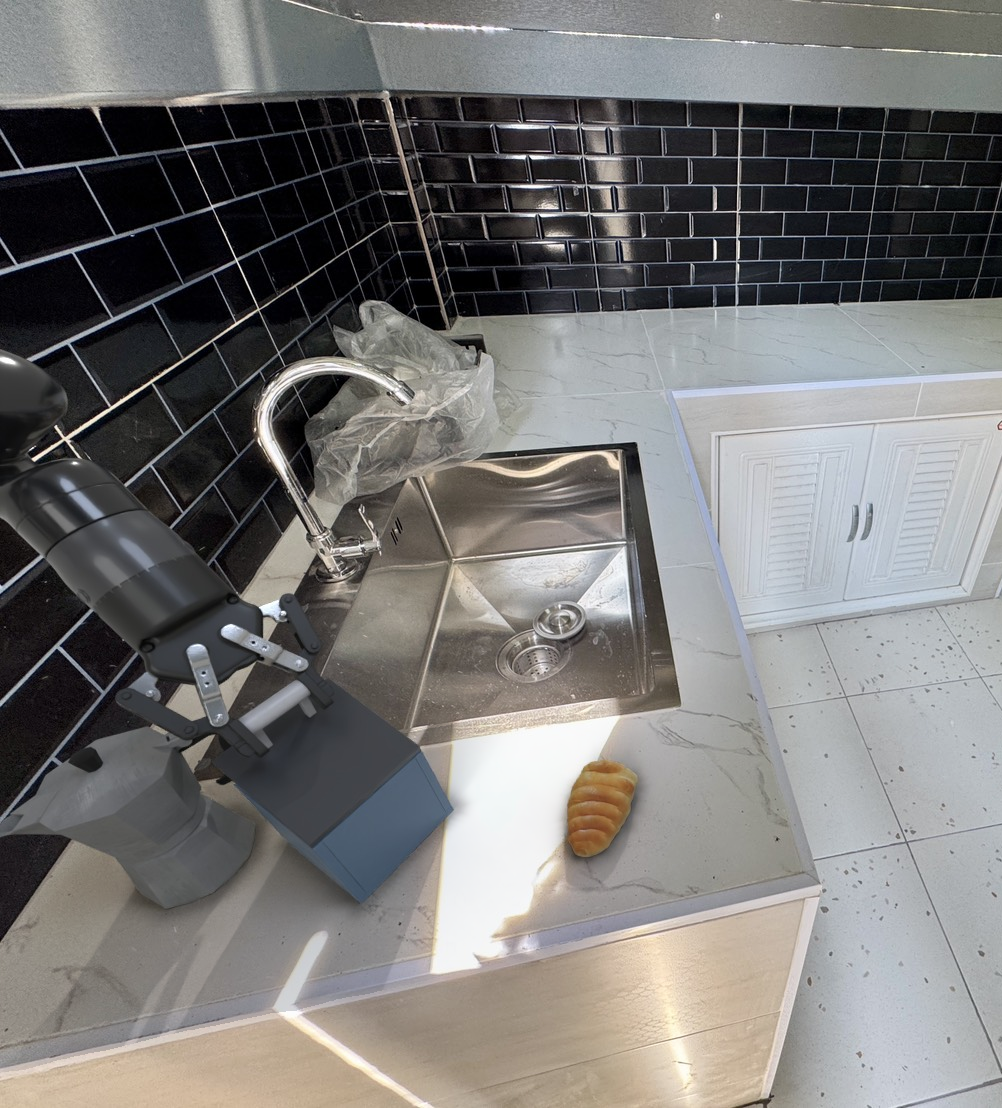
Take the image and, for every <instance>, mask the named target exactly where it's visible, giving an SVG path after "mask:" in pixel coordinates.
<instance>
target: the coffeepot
mask: <svg viewBox="0 0 1002 1108" xmlns="http://www.w3.org/2000/svg"><path fill="white" fill-rule="evenodd" d="M203 717H204V716H203ZM203 717H201V718H203ZM231 718H232V719H234V720H235V719H236V718H233V717H231ZM210 736H218V739H217V740H218V744H219V745H220V748H221V749H222V750H223V751H222V752H224V751H226V750H227V749H229V748H230V747H231V745H230V744H229V743H228V742H227V741H226V740H225V739H224V738H223V737H222V736H221V735H220V734H218V733H207V734H204V735H201V736H198V737H195V738H194V739H192V740H188V741H186V740H182V739H180V738H178V737H176V736H175V735H173V734H171V733H169V732H167V733H165V734H163V733H162V732H160V731H158V730H156V729H154V728H152V727H150V726H143V727H140V728H136V729H132V730H128V731H124V732H120V733H117V734H113V735H109V736H106V737H102V738H98V739H95V740H93V742H91V743H90V744H88V745H87V746H85V747H84V748H81V749H79V750H77V751H76V752H74V753H73V754H72V755H70V758H68V759H66V760H65V761H64V762H62V763H61V764H60V765H57V766H56V767H55V768H54V769H52V770H51V771H49V772H48V773H47V774H45V776H44V778H43V779H42V782H41V784H40V785H39V787H38V789H37V791H36V793H35V795H34V796H33V797H31V798H30V799H28V800H27V801H26V802H24V803H23V804H21V805H20V806H19V807H17V808H16V809H15V810H13V811H12V812H10V813H9V816H8V817H6V818H4V819H3V820H2V821H1V823H0V838H4V837H7V836H12V835H53V836H54V835H57V836H59V835H60V836H62V837H64V838H65V837H66V838H68V839H70V840H72V841H75V842H77V843H80V844H82V845H84V846H87V847H89V848H91V849H94V850H96V851H99V852H102V853H103V854H106V855H108V856H110V857H113V858H114V859H115V860H116V861H117V862H118V864H119V865H120V867H121V868H122V870H123V871H124V873H125V874H126V875H127V876H128V878H129V879H130V881H131V882H132V883H133V885H134V886H135V888H136V889H137V891H138V892H139V893H140V894H141V895H142V896H144V897H145V898H147V899H149V900H151V901H152V902H154V903H156V904H157V905H158V906H160V907H162V908H164V909H165V910H167V909H168V910H169V909H172V908H175V907H180V906H182V905H187V904H190V903H193V902H196V901H198V900H200V899H203V898H205V897H206V896H208V895H211V894H214V893H215V892H216V891H217V890H218V889H219V888H221V887H223V886H224V885H226V883H227V882H228V881H230V879H231V878H233V877H234V875H235V874H237V873H238V871H239V870H240V869H241V868H242V867H243V865H244V864H245V863H246V861H247V860H248V859H249V858H250V856H251V853H252V849H253V846H254V843H255V829H256V823H254V822H253V821H251V820H249V819H247V818H246V817H244V816H242V815H240V814H238V813H236V812H235V811H233V810H232V809H229V807H226V806H225V805H223V804H221V803H220V802H218V801H215V799H212V798H210V797H208V796H207V795H205V794H204V793H202V792H201V789H202V785H201V784H200V782H199V780H198V778H197V777H196V775H195V774H194V772H193V770H192V768H191V766H190V765H189V763H188V762H187V760H186V757H185V756H184V754H183V752H184V751H186V750H188V749H191V748H192V747H194V746H195V745H196V744H198V743H200V742H202V741H203V740H205V739H206V738H208V737H210ZM232 782H233V781H232V780H231V779H230V778H229V777H227V776H226V775H225V774H224V775H222V776H221V777H219V778H217V779H216V780H215V783H216V784H218V786H219V785H220V786H225V785H228V784H230V783H232Z"/></svg>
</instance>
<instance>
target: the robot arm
mask: <svg viewBox="0 0 1002 1108" xmlns="http://www.w3.org/2000/svg"><path fill="white" fill-rule="evenodd" d="M68 407H69V399H68V395H67V393H66V390H65V389H64V386H63V385H62V384H61V383H60V382H59V380H58V379H56V378H55V377H54V376H53V375H52V373H50V372H48V371H47V370H45V368H43V367H41V366H39V365H38V364H37V363H34V362H33V361H31V360H28V359H26V358H24V357H23V356H21V355H18V354H15V353H13V352H11V351H8V350H5V349H1V348H0V519H2V520H4V521H5V522H6V523H8V525H10V527H12V529H13V530H14V531H15V532H16V533H17V534H18V535H19V536H20V537H21V538H22V539H24V541H26V543H27V544H29V545H30V546H31V547H32V548H33V549H34V550H35V551H36V552H37V553H38V554H39V555H40V556H41V557H42V558H43V559H44V560H46V562H48V564H49V565H50V566H51V567H52V568H53V569H54V570H55V572H56V574H57V575H58V576H59V577H60V579H61V580H62V581H63V582H64V584H65V585H66V586H67V588H69V589H70V590H71V591H72V592H73V593H74V594H75V595H76V596H77V597H78V599H79V600H80V601H82V602H83V603H84V604H86V606H88V607H89V608H90V609H91V610H92V611H93V612H94V613H95V614H96V615H97V616H98V617H99V619H101V620H102V621H103V622H104V623H105V624H106V625H108V626H109V628H111V629H112V630H113V632H114V633H116V634H117V635H118V636H119V637H120V638H121V639H122V640H123V641H124V642H125V643H126V644H128V646H130V648H131V649H133V651H135V653H137V654H138V655H139V656H140V658H142V660H143V663H144V669H145V672H144V673H142V675H141V676H139V677H138V678H137V679H136V680H135V681H133V682H132V683H131V684H130V685H129V686H128V687H124V688H122V689H119V690H118V691H117V692H116V693H115V696H114V699H115V702H116V703H117V705H118V706H119V707H120V708H122V709H124V710H126V711H128V712H130V713H131V714H133V715H135V716H137V717H138V718H141V719H143V720H145V721H147V722H148V723H150V724H152V725H154V726H156V727H158V728H160V729H161V730H163V731H164V732H167V733H168V732H169V733H171V734H173V735H175V736H176V737H178V738H180V739H182V740H186V741H188V740H192V739H194V738H195V737H198V736H201V735H204V734H207V733H218V734H220V735H221V736H222V737H223V738H224V739H225V740H226V741H227V742H228V743H229V744H230V745H231V746H232V747H233V748H234V749H235V750H237V751H238V752H239V753H240V754H241V755H242V756H245V757H248V758H249V757H251V756H252V755H253V754H255V755H256V756H258V757H259V758H261V757H263V756H264V755H265V754H267V753H268V752H269V751H270V750H269V749H268V748H267V747H266V746H265V745H264V744H263V743H262V742H261V741H260V740H259V739H258V738H257V737H256V736H255V735H254V734H253V733H252V732H251V731H250V730H249V729H248V728H247V727H246V726H245V725H244V724H242V723H241V722H240V721H239V720H238V719H239V718H233V717H232V716H231V715H229V712H228V710H227V707H226V704H225V700H224V698H223V694H222V691H221V688H220V685H222V684H223V683H225V682H227V681H229V679H231V678H232V677H233V675H234V674H235V673H236V672H239V671H241V670H244V669H246V668H249V667H250V666H252V665H253V664H254V663H256V662H258V663H259V664H262V665H265V666H266V667H267V666H268V667H271V668H275V669H276V670H279V671H281V672H283V673H286V674H289V675H291V676H292V677H294V680H293V681H295V680H299V681H300V682H302V683H303V684H304V685H305V686H306V687H307V688H308V690H309V691H310V693H311V694H310V695H309V696H310V697H311V698H312V699H313V700H314V701H315V702H316V703H317V704H318V705H319V706H320V707H321V708H322V709H323V710H325V709H326V708H328V707H329V706H330V705H332V704H333V703H334V701H333V700H332V699H331V698H330V697H331V696H333V695H334V691H333V688H332V687H331V686H330V685H329V684H328V683H327V682H326V681H325V680H326V679H324V678H323V677H322V676H321V675H320V674H319V672H317V671H316V669H314V667H313V661H314V659H315V658H316V657H317V656H318V654H319V653H320V651H321V650H322V649H323V643H322V641H321V639H320V637H319V634H317V632H316V630H315V628H314V627H313V625H312V623H311V621H310V620H309V617H308V615H307V614H306V612H305V611H304V609H303V607H302V605H301V603H300V602H299V600H298V598H297V596H296V595H295V594H293V593H290V592H287V593H284V594H283V593H282V595H280V598H279V599H276V600H274V601H271V602H268V603H265V604H262V605H259V606H258V605H257V604H254V603H250V602H248V601H245V600H244V599H243V598H241V597H240V596H239V595H238V594H237V593H236V592H235V591H234V590H233V589H232V588H231V587H230V586H229V585H228V584H227V583H226V582H225V581H224V580H223V579H222V578H221V577H220V576H219V575H218V574H217V573H216V572H215V571H214V569H212V568H211V566H210V565H208V563H206V561H205V560H204V559H203V558H202V557H200V555H199V554H198V553H196V551H195V548H194V547H193V546H192V545H191V544H190V543H189V542H188V541H186V540H184V539H183V538H182V537H181V536H180V535H179V534H178V533H177V532H176V531H175V530H173V529H172V528H171V527H170V526H168V525H167V523H164V522H163V521H162V520H160V518H158V517H157V516H155V514H154V513H152V512H151V511H150V510H149V509H148V507H147V506H145V504H143V502H142V501H141V500H140V499H139V498H138V497H137V496H136V495H134V493H133V492H132V491H131V490H130V489H129V488H128V487H126V486H125V484H124V483H123V482H122V481H121V480H120V479H119V477H117V476H115V474H114V473H112V472H111V471H110V470H109V469H107V468H106V467H105V466H104V465H102V464H101V463H98V462H96V461H94V460H91V459H88V458H83V457H82V458H80V457H69V458H60V459H56V460H51V461H47V462H44V463H41V464H38V463H36V461H34V460H33V458H32V457H31V456H30V454H28V452H30V450H31V449H32V448H34V446H36V445H37V444H38V443H39V442H40V441H41V439H43V438H44V437H45V436H46V435H47V434H48V433H49V432H50V431H52V430H53V429H54V428H55V427H56V425H58V424H59V423H60V422H61V421H62V419H63V418H64V416H65V415H66V413H67V411H68ZM264 618H268V619H271V620H273V621H274V623H276V624H278V625H286V626H287V628H288V630H289V631H290V633H291V635H292V637H293V638H294V640H295V643H296V644H297V646H298V647H299V649H300V652H299V653H298V654H296V653H293V652H292V651H289V650H286V649H285V648H284V647H282V646H281V645H279V644H276V643H274V642H273V641H270V640H268V639H266V638H264ZM158 681H162V682H168V683H176V684H180V685H189V686H194V687H195V690H196V693H197V696H198V698H199V702H200V705H201V707H202V709H203V712H204V715H205V716H203V718H202V717H200V718H197V719H194V720H192V719H189V718H188V717H186V716H184V715H182V714H180V713H178V712H176V711H174V710H173V709H171V708H169V707H167V706H165V705H164V704H162V703H160V702H159V701H160V700H161V698H162V697H161V696H162V695H161V690H159V688H157V687H156V684H157V682H158ZM232 718H233V719H232ZM234 719H235V720H234Z"/></svg>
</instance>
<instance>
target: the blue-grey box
mask: <svg viewBox="0 0 1002 1108" xmlns="http://www.w3.org/2000/svg"><path fill="white" fill-rule="evenodd" d="M233 786H234V787H235V788H236V790H238V791H239V792H240V793H241V795H243V797H245V799H246V800H247V801H248V802H249V804H251V805H252V806H253V807H254V808H255V809H256V810H257V811H258V813H260V815H261V816H262V817H263V818H264V819H265V821H267V822H268V823H269V824H270V825H271V826H272V828H274V829H275V831H276V832H277V833H278V834H279V835H280V836H281V837H282V838H283V840H285V842H287V843H288V844H289V845H290V846H292V847H293V848H294V849H295V850H297V852H299V853H300V854H301V855H302V856H303V857H304V858H306V859H307V860H308V861H309V862H310V863H312V864H313V865H314V866H316V867H317V868H318V869H319V870H320V871H322V872H323V873H324V874H325V875H326V876H327V877H328V878H330V879H331V880H332V881H334V883H336V884H337V885H338V886H339V887H341V888H342V889H343V890H344V891H345V892H346V893H348V894H349V895H350V896H351V897H353V898H354V899H355V900H356V901H357V902H359V903H360V904H361V905H362V904H364V902H365V901H366V900H367V899H368V898H369V897H370V896H371V895H372V894H373V893H374V892H375V891H377V889H378V888H380V886H381V885H382V884H383V883H384V882H385V881H386V880H387V879H388V878H389V877H390V876H391V875H392V874H393V873H394V872H395V871H396V870H397V869H398V867H400V865H402V864H403V862H404V861H405V860H406V859H407V858H408V857H410V855H412V853H413V852H414V851H415V850H416V849H417V848H418V847H419V846H420V845H421V844H422V843H423V842H424V841H425V840H426V839H427V838H428V837H429V836H430V835H431V834H432V833H433V832H434V831H435V830H436V829H437V828H438V827H439V826H440V825H441V824H442V823H443V822H444V821H445V820H446V818H447V817H448V816H449V815H451V814H452V813H453V811H455V809H454V807H453V806H452V804H451V802H450V800H449V797H448V796H447V795H446V793H445V791H444V789H443V786H442V785H441V783H440V782H439V779H438V777H437V776H436V774H435V772H434V770H433V768H432V766H431V765H430V763H429V761H428V759H427V757H426V755H425V754H424V752H423V750H421V751H420V752H419V753H418V754H417V755H416V756H414V757H413V758H412V759H411V760H410V761H409V762H408V763H407V764H406V765H404V766H403V767H402V768H401V769H400V770H399V771H398V772H397V773H395V774H394V775H393V776H392V777H391V778H390V779H389V780H388V781H387V782H385V783H384V784H383V785H382V786H381V787H380V788H379V789H378V790H377V791H375V792H374V793H373V794H372V795H371V796H370V797H369V798H368V799H367V800H365V801H364V802H363V803H362V804H361V805H360V806H359V807H358V808H356V809H355V810H354V811H353V812H352V813H351V814H350V815H349V816H348V817H346V818H345V819H344V820H343V821H342V822H341V823H340V824H339V825H338V826H336V827H335V828H334V829H333V830H332V831H331V832H330V833H329V834H328V835H326V836H325V837H324V838H323V839H322V840H321V841H320V842H319V843H317V844H316V845H315V846H314V847H313V848H310V847H309V846H308V845H307V844H305V843H304V842H303V841H302V840H301V839H300V838H298V837H297V836H296V835H295V834H294V833H293V832H291V831H290V830H289V829H288V828H287V827H286V826H284V825H283V824H282V823H281V822H280V821H279V820H278V819H276V818H275V817H274V816H273V815H272V814H271V813H269V812H268V811H267V810H266V809H265V808H264V807H262V806H261V805H260V804H259V803H258V802H257V801H255V800H254V799H253V798H252V797H251V796H250V795H248V794H247V793H246V792H245V791H244V790H243V789H241V788H240V787H239V786H238V785H237V784H236V783H233Z"/></svg>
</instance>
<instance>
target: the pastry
mask: <svg viewBox="0 0 1002 1108" xmlns="http://www.w3.org/2000/svg"><path fill="white" fill-rule="evenodd" d="M638 784H639V777H638V775H637V774H636V773H635V772H633V770H632V769H630V768H628V767H626V766H625V765H624V764H622V763H620V762H616V761H612V760H608V759H600V760H594V761H591V762H588V763H587V764H586V765H584V766H583V768H582V769H581V772H580V774H579V775H578V777H577V778H576V780H575V782H574V783H573V785H572V786H571V791H570V796H569V798H568V801H567V805H566V806H567V808H566V809H567V810H566V816H567V818H566V823H567V841H568V842H569V844H570V847H571V848H572V851H573V852H574V854H575V855H576V856H578V857H582V858H591V857H593V856H597V855H599V854H601V853H602V852H604V851H605V850H607V849H608V848H609V847H610V846H611V843H612V842H613V840H614V838H615V837H616V836H617V834H619V832H620V831H621V828H622V827H623V826H624V825H625V823H626V820H627V818H628V816H629V815H630V813H631V809H632V807H631V804H632V802H633V799H634V796H635V793H636V792H635V791H636V788H637V785H638Z"/></svg>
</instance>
